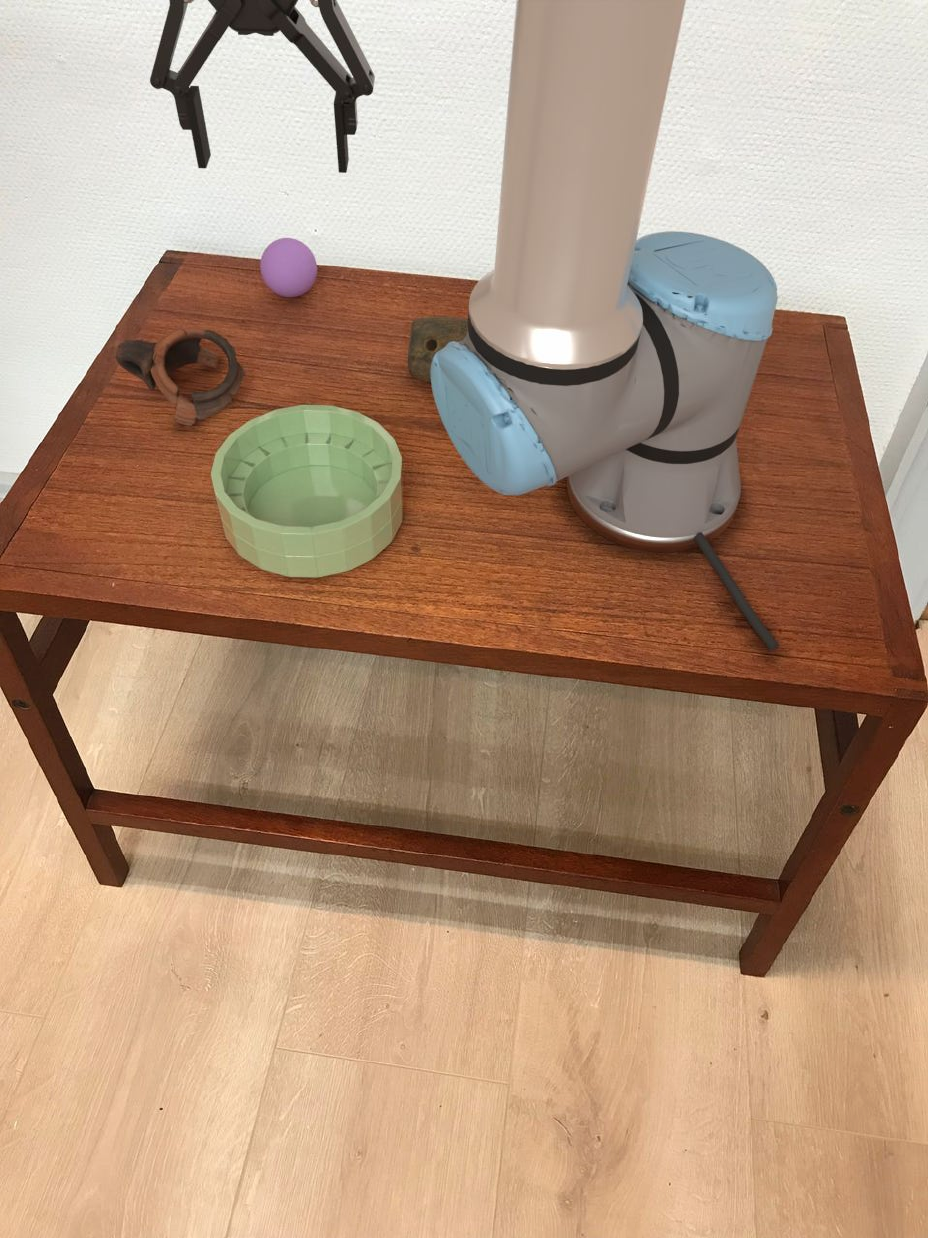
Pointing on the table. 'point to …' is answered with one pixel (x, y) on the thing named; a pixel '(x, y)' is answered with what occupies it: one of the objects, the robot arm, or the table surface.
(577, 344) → the robot arm
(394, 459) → the bowl
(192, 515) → the table surface
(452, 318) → the stone weight
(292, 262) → the ball
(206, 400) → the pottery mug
